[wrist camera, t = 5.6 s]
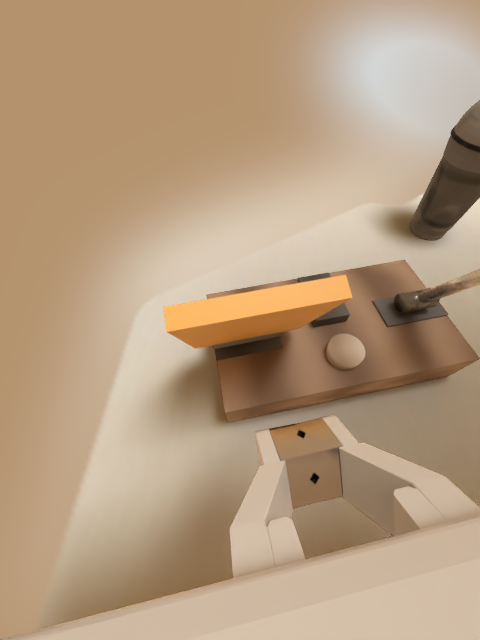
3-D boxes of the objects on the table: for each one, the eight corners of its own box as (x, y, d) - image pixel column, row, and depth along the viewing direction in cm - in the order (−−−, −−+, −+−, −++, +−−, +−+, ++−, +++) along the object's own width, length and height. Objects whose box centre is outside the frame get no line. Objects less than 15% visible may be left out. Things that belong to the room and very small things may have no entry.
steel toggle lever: (419, 287, 25) (581, 218, 13) (428, 313, 24) (603, 264, 13) (390, 292, 25) (530, 226, 13) (398, 318, 24) (550, 274, 13)
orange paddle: (291, 315, 24) (344, 268, 13) (295, 334, 24) (354, 303, 12) (195, 333, 23) (162, 301, 12) (198, 353, 23) (168, 338, 12)
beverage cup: (432, 254, 34) (611, 28, 17) (388, 225, 37) (501, 12, 20) (466, 233, 36) (659, 10, 19) (421, 207, 39) (550, -1, 22)
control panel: (388, 283, 32) (410, 251, 27) (449, 375, 25) (490, 352, 21) (211, 315, 30) (204, 287, 26) (228, 422, 24) (223, 408, 19)
